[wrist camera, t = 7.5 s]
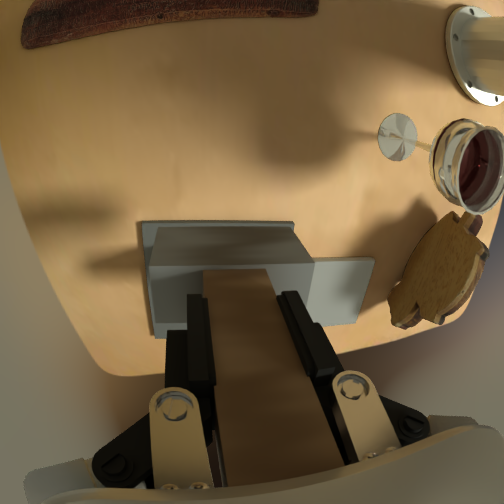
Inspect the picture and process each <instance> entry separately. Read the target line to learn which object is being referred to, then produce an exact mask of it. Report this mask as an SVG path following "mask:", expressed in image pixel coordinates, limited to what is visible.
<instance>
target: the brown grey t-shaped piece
mask: <svg viewBox="0 0 504 504" xmlns="http://www.w3.org/2000/svg"><path fill="white" fill-rule="evenodd" d="M314 267H315V262H314V261H313V259H312V258H311V256H310V255H309V253H308V252H307V250H306V249H305V247H304V246H303V245H302V243H301V242H300V240H299V239H298V237H297V236H296V234H295V233H294V232H293V230H292V229H291V227H283V226H197V227H158V229H157V233H156V237H155V241H154V245H153V250H152V254H151V259H150V263H149V273H150V283H151V291H152V300H153V308H154V315H155V322H156V323H187V294H202V298H208V308H209V318H210V327H211V336H212V345H213V354H214V363H215V371H216V384H217V386H214V417H215V436H216V444H217V451H218V459H219V465H220V472H221V479H222V485H223V487H234V486H244V485H252V484H260V483H267V482H273V481H280V480H285V479H291V478H296V477H301V476H306V475H311V474H315V473H320V472H324V471H328V470H332V469H336V468H340V467H343V466H345V465H344V462H343V460H342V457H341V455H340V452H339V450H338V447H337V445H336V442H335V440H334V437H333V435H332V432H331V429H330V427H329V424H328V422H327V419H326V417H325V414H324V412H323V409H322V407H321V404H320V402H319V399H318V397H317V394H316V392H315V389H314V387H313V385H312V382H311V380H310V377H307V375H306V373H305V370H304V368H303V365H302V363H301V360H300V358H299V355H298V353H297V350H296V348H295V345H294V343H293V340H292V337H291V335H290V332H289V330H288V327H287V325H286V322H285V320H284V317H283V315H282V312H281V310H280V307H279V305H278V302H277V300H276V296H277V295H281V292H282V291H292V290H297V291H298V293H299V295H300V297H301V299H302V301H303V303H304V305H305V307H306V306H307V301H308V297H309V292H310V287H311V282H312V277H313V272H314Z"/></svg>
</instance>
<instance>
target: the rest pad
mask: <svg viewBox="0 0 504 504" xmlns="http://www.w3.org/2000/svg"><path fill="white" fill-rule="evenodd" d="M312 259H313V261H314V262H315V267H314V272H313V277H312V282H311V287H310V292H309V297H308V301H307V306H306V309H307V311H308V313H309V315H310V317H311V319H312V321H313V323H314V322H318V323H320V325H321V326H322V327H324V326H335V325H344V324H354V323H356V320H357V317H358V314H359V311H360V308H361V305H362V302H363V299H364V296H365V293H366V290H367V287H368V284H369V281H370V277H371V274H372V271H373V267H374V264H375V260H374V258H373V257H338V258H312Z"/></svg>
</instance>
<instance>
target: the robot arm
mask: <svg viewBox="0 0 504 504" xmlns="http://www.w3.org/2000/svg"><path fill="white" fill-rule="evenodd" d="M445 39H446V49H447V54H448V59H449V62H450V65H451V69H452V71H453V73H454V76H455V78H456V80H457V81H458V83H459V85H460V87H461V88H462V89H463V91H464V92H465V93H466V94H467V95H468V96H469V97H470V98H471V99H472V100H474V101H475V102H477V103H479V104H482V105H487V106H496V105H498V104H500V103H501V102H502V101H503V100H504V17H491V16H490V15H489V14H488V13H487V12H486V11H484V10H482V9H481V8H478V7H475V6H463V7H459V8H457V9H455V10H454V11H453V12H452V14H451V15H450V17H449V19H448V22H447V26H446V36H445ZM276 300H277V302H278V305H279V307H280V310H281V312H282V315H283V317H284V320H285V322H286V325H287V327H288V330H289V332H290V335H291V337H292V340H293V343H294V345H295V348H296V350H297V353H298V355H299V358H300V360H301V363H302V365H303V368H304V370H305V373H306V375H307V377H310V380H311V382H312V385H313V387H314V389H315V392H316V394H317V397H318V399H319V402H320V404H321V407H322V409H323V412H324V414H325V417H326V419H327V422H328V424H329V427H330V429H331V432H332V435H333V437H334V440H335V442H336V445H337V447H338V450H339V452H340V455H341V457H342V460H343V462H344V465H345V466H343V467H340V468H336V469H332V470H328V471H324V472H320V473H315V474H311V475H306V476H301V477H296V478H291V479H285V480H280V481H273V482H267V483H260V484H252V485H244V486H234V487H222V488H214V485H213V480H212V476H211V471H210V466H209V461H208V456H207V450H206V447H207V446H209V445H210V444H211V443H212V441H213V439H212V430H215V417H214V386H217V384H216V371H215V363H214V354H213V345H212V336H211V327H210V318H209V308H208V298H202V294H187V330H167V339H166V362H165V389H162V390H160V391H158V392H157V393H156V394H155V395H154V396H153V397H152V399H151V401H150V406H149V410H150V412H149V413H148V414H147V415H145V416H144V417H143V418H141V419H140V420H139V421H138V422H136V423H135V424H134V425H132V426H131V427H130V428H128V429H127V430H126V431H124V432H123V433H121V434H120V435H119V436H117V437H116V438H115V439H113V440H112V441H111V442H109V443H108V444H107V445H105V446H104V447H102V448H101V449H100V450H99V451H98V452H97V453H95V455H94V457H92V458H89V459H86V460H84V459H83V458H80V459H76V460H72V461H68V462H65V463H61V464H57V465H53V466H48V467H44V468H40V469H35V470H33V471H31V472H29V473H28V474H27V475H26V476H25V480H24V490H25V494H26V497H27V500H28V504H504V436H503V435H502V434H501V433H500V432H499V431H498V430H496V429H495V428H493V427H491V426H486V425H479V424H478V423H477V422H476V421H475V420H474V419H472V418H471V417H464V416H440V415H429V416H428V417H426V416H424V415H423V414H422V413H421V412H419V411H417V410H414V409H412V408H409V407H407V406H405V405H402V404H400V403H397V402H395V401H392V400H390V399H387V398H385V397H383V396H380V395H378V394H377V391H376V389H375V387H374V385H373V383H372V382H371V380H370V379H369V378H368V377H367V376H366V375H364V374H362V373H360V372H356V371H344V369H343V367H342V365H341V363H340V361H339V359H338V357H337V355H336V353H335V351H334V349H333V347H332V345H331V343H330V341H329V340H328V338H327V336H326V334H325V332H324V330H323V328H322V326H321V325H320V323H318V322H314V323H313V321H312V319H311V317H310V315H309V313H308V311H307V309H306V307H305V305H304V303H303V301H302V299H301V297H300V295H299V293H298V291H297V290H292V291H282V292H281V295H277V296H276Z"/></svg>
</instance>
